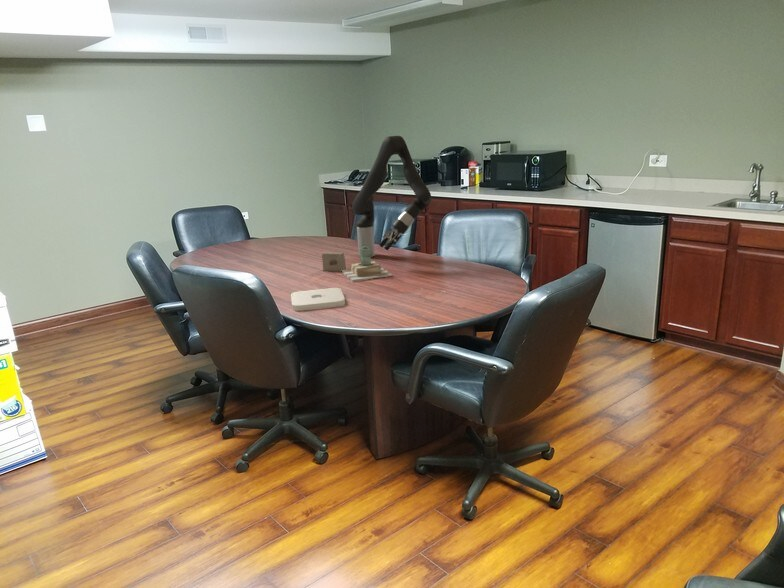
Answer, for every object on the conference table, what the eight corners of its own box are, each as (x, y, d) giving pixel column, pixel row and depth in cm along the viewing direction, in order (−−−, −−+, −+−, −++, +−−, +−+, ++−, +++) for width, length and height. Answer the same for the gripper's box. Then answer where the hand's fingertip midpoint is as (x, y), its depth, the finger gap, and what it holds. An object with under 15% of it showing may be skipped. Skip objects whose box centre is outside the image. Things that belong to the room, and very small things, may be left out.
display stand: (341, 272, 297) (340, 262, 296) (378, 267, 303) (378, 257, 301) (352, 282, 277) (351, 271, 275) (392, 276, 283) (391, 266, 281)
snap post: (360, 263, 290) (359, 246, 287) (368, 262, 291) (367, 245, 289) (362, 265, 286) (361, 248, 283) (371, 264, 287) (370, 247, 285)
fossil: (322, 271, 302) (321, 253, 299) (325, 269, 305) (324, 251, 303) (343, 271, 298) (342, 253, 295) (346, 270, 301) (345, 252, 298)
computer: (291, 298, 258) (290, 292, 257) (340, 292, 261) (340, 287, 261) (292, 312, 237) (292, 306, 236) (346, 306, 241) (345, 300, 240)
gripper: (393, 216, 294) (373, 240, 294) (402, 219, 281) (381, 245, 281) (403, 225, 297) (384, 249, 297) (413, 229, 284) (392, 255, 284)
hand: (382, 247), depth 289 cm, fingers open, 8 cm apart
